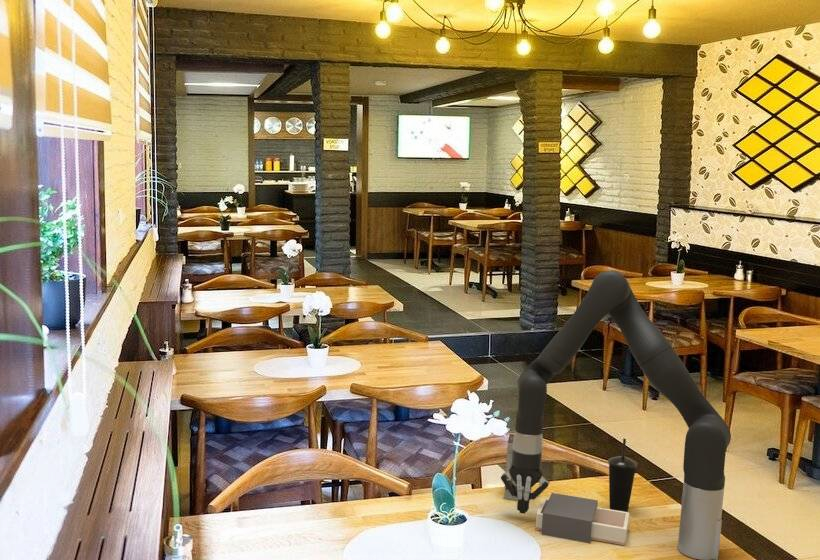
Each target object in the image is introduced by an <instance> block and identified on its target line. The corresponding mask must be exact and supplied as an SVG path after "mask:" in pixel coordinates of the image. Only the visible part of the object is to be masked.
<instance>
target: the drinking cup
mask: <svg viewBox="0 0 820 560" xmlns="http://www.w3.org/2000/svg"><path fill="white" fill-rule="evenodd" d="M626 442H627V440H626V438H622V451H621V455H617V456H612V457H609V458H608V459H607V462H608V475H609V476H608V482H609V485H608V488H609V489H608V491H609V493H608V494H609V502H608V503H609V509H611V510H617V511H623V512H629V508H630V507H629V506H630V502H631V496H632V491H633V490H632V489H633V484H634V480H635V475H636V469H637V467H638V462H637V461H635V460H634V459H632V458H630V457H627V456H625V454H626V453H625V452H626Z"/></svg>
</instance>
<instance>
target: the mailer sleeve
mask: <svg viewBox="0 0 820 560" xmlns="http://www.w3.org/2000/svg"><path fill="white" fill-rule="evenodd" d="M548 499H549V500H548V502H547V505H546V507H545V509H544V511H543V517H542V530H541V531H540V532H541V535H542V536H547V537H552V538H553V537H554V538H559V539H563V540H564V539H565V540H570V541H576V542H581V543H586V544H591V542H592V539H591V530H592V521H593V518H594V514H595V511H596V507H598V503H599V502H598V499H593V498H586V497H580V496H574V495H567V494H562V493H558V492H557V493H555V492H551V494H550V496H549V498H548Z"/></svg>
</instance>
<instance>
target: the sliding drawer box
mask: <svg viewBox="0 0 820 560" xmlns="http://www.w3.org/2000/svg"><path fill="white" fill-rule="evenodd" d="M548 500H549V498H545V497H544V498H543V499H542V502H541V503H540V506H538V510H537V512H536V517H535V518H536V519H535V530H537V531H542V517H543V511H544V509H545V507H546V505H547V502H548ZM629 520H630V512H629V511H628V512H623V511H617V510H611V509H610V508H605V507H599V506H597V507H596V511H595V514H594V518H593V521H592V530H591V541H592V540H593V541H598V542H603V543H604V542H605V543H610V544H615V545H620V546H626V541H627V536H628V531H629Z"/></svg>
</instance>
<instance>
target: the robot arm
mask: <svg viewBox="0 0 820 560" xmlns="http://www.w3.org/2000/svg"><path fill="white" fill-rule="evenodd" d="M607 315H609V317H611V319H612V320H613V322H615V324H616V325H617V327H618V328H619V329H620V331H621V333H622V336H623V337H624V339H625V341H626V344H627V346H628V349H629V351H630V352H631V354H632V356H633V358H634V359H635V360H634V361H636V363H637V365H638V366H639V368H640V370H641V371H642V373H643V374H644V376H645V377H646V379H647V380H648V381H649V382H650V384H651V385H652V386H653V387H654V388H655V389H656V390H657V391H658V392H659V393H661V394H662V395H663V396H664V398H666V399H667V400H668V401H669V402H671V404H672V405H673V406H674V407H675V408H676V409H677V411H678V413H680V415H681V417H682V419H683V420H684V423H685V424H686V425H687V428H688V429H687V431H686V435H685V438H684V439H685V440H684V451H683V463H682V464H683V465H682V468H683V469H682V470H683V476H684V477H683V485H682V496H681V505H680V507H681V508H680V517H679V518H680V519H679V526H678V527H679V530H678V539H677V550H678V551H679V553H681V554H683V555H685V556H686V557H689V558H691V559H695V560H696V559H697V560H719V554H720V543H721V533H722V523H723V520H722V514H723V506H724V505H723V504H724V496H725V495H724V494H725V485H726V476H725V463H726V452H727V448H728V447H729V445H730V443H731V438H732V434H731V433H732V432H731V429H730V427H729V425H728V424H727V422H726V421H725V419H724V418H723V417H722V416H721V414H719V412H718V411H717V410H716V409H715V408H714V406H713V405H712V404H711V403H710V402H709V400H708V399H707V398H706V396H705V395H704V394H703V393H702V391H701V390H700V388H699V386H698V384H697V383H696V381H695V380H694V378H693V377H692V375H691V373H690V372H689V370H688V369H687V367H686V365H685V364H684V362H683V361H682V359H681V357H679V355H678V353H677V352H676V350H675V349H674V348H673V346H672V344H671V343H670V341H669V340H668V339H667V338H666V336H664V334H663V333H662V331H661V330H660V329H659V328H658V326H656V324H655V323H654V322H653V321H652V320H651V319H650V318H649V317H648V315H647V314H646V313H645V311H644V310H643V308H642V307H641V305H640V303H639V301H638V300H637V297H636V296H635V293H634V292H633V289H632V287H631V286H630V283H629V281H628V279H627V278H626V277H625V276H624V274H622V273H620V272H618V271H616V270H604V271H602V272H600V273H598V274H597V275H596V276H595V277H594V278H593V280H592V283H591V285H590V286H589V288H588V290H587V292H586V294H585V296H584V297H583V299H582V300H581V302H580V303H579V304H578V307H577V308H576V309H575V311H574V312H573V313H572V315H571V317H569V319H567V321H566V322H565V324H564V325H562V327H561V328H560V329H559V330H558V332H557V333H556V334H555V335H554V336H553V338H552V339H551V340H550V341H549V342H548V344H547V345H546V346H545V347H544V349H543V350H542V351H541V353H540V354H539V355H538V356H537V357H536V358H535V359H534V360H533V361H532V362H531V363H530V364H528V365H527V367H526V368H525V369H524V370H523V371H522V373H521V374H520V376H519V377H518V379H517V387H518V406H517V407H518V408H517V409H518V410H517V412H516V416H515V426H514V433H513V434H514V438H513V451H512V465H511V468H510V469H509V471H508V472H507V473H506V472H504V473H502V474H501V476H500V480H501V481H502V482H503V484H504V487H505V486H506V487H507V489H508V491H509V492H510V494H511V495H512V496H516V497H517V498H518V500H517V505H516V506H517V507H516V509H517V511H519V514H523V515H525V514H526V513H528V511H529V510H530V501H531V500H536V499H537V497H539V496H540V495H541V494H542V493H543V492H544V491H545V490H546V489H547V488H548V487H549V486H550V480H549V479H546V478H545V477H544V476H543V472H542V470H541V468H542V457H543V455H542V453H543V444H544V443H543V442H544V439H543V430H544V429H543V427H544V412H545V408H546V402H547V394H548V387H547V385H548V384H549V383H550V382H551V380H552V379H553V378H554V377H555V376H556V375H558V374H561V373H562V371H564V370H565V368H567V366H568V365H569V364H570V363H571V362H572V360H573V359H574V357H575V356H576V355H577V354H578V352H579V351H580V350H581V349H582V347H583V345H584V344H585V343H586V341H587V339H588V337H589V336H590V334H591V333H592V332H593V330H594V329H595V328H596V326H598V324H599V323H600V322H601V321H602V320H603V318H605V317H606V316H607ZM511 477H512V478H513V480H514V482H515V483H516V484H517V489H516V487H515V486H514V484H513V483H512V481H511ZM538 482H539V483H538ZM537 483H538V487H537V488H536V489H535V490H534V491H532V488H533V487H534V486H535V485H536V484H537ZM524 487H525V494H524Z"/></svg>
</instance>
